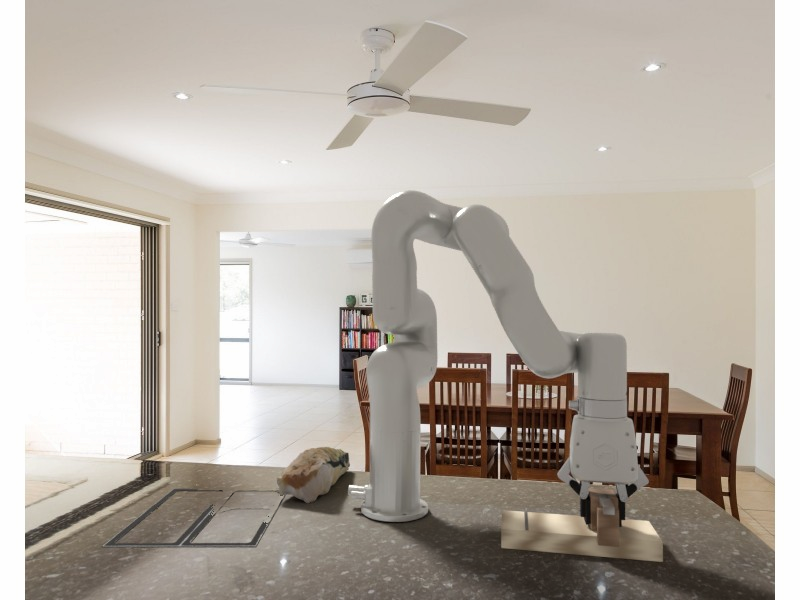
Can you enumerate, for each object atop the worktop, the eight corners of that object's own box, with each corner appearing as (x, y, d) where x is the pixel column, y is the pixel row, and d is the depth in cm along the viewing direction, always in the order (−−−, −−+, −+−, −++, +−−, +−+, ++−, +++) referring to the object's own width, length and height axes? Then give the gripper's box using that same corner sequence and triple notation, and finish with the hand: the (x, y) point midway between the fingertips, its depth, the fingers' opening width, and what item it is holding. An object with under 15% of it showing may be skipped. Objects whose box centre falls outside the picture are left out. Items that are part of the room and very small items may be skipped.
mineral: (325, 432, 138) (364, 441, 136) (318, 470, 137) (357, 480, 135) (280, 449, 112) (327, 461, 110) (270, 496, 111) (318, 508, 109)
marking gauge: (595, 545, 86) (595, 505, 86) (587, 524, 95) (587, 488, 95) (623, 548, 85) (623, 507, 85) (612, 526, 94) (612, 489, 94)
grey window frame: (173, 491, 119) (102, 550, 89) (173, 488, 119) (102, 546, 89) (288, 491, 120) (255, 549, 90) (288, 488, 120) (255, 545, 90)
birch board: (501, 547, 90) (501, 528, 91) (502, 527, 99) (502, 509, 99) (662, 561, 86) (662, 541, 86) (648, 539, 95) (648, 520, 95)
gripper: (550, 410, 90) (550, 527, 90) (663, 415, 87) (663, 536, 87) (547, 403, 98) (547, 511, 97) (651, 407, 94) (652, 518, 94)
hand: (602, 521), depth 92 cm, fingers closed on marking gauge, 4 cm apart
